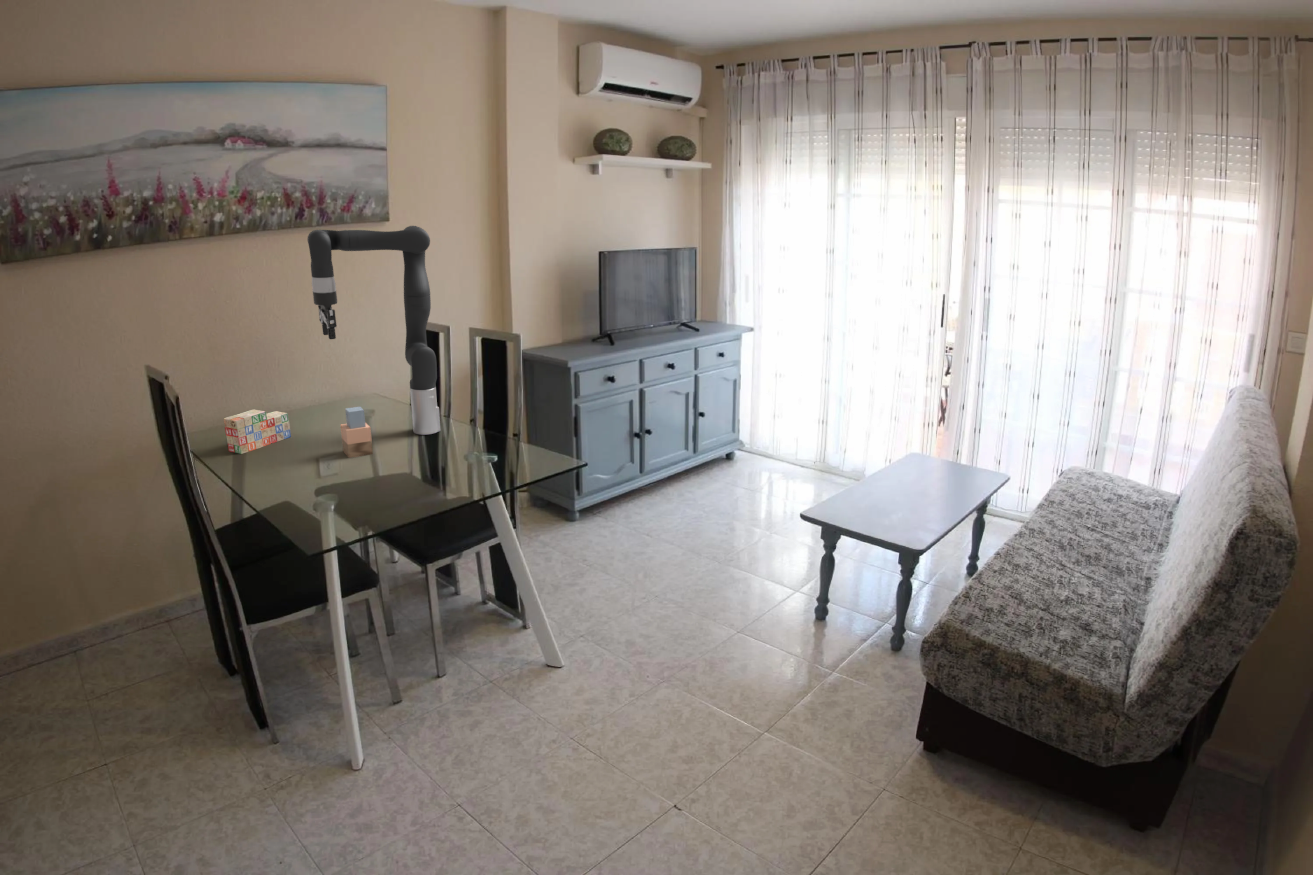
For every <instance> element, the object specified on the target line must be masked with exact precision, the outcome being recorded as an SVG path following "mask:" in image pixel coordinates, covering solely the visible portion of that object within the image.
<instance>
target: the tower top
mask: <svg viewBox="0 0 1313 875" xmlns="http://www.w3.org/2000/svg"><path fill="white" fill-rule="evenodd" d="M365 426H366V427H361V428H354V429H350V428H349V427H348V426H347V423H341V424H340V433H341V440H342V439H343V440H344V441H345V442H346V443H347V444H355V443H361V442H367V441H372V440H373V439H372V430H371V429H372V428H371V426H370V425H369V424H368V423H367V422H366V421H365ZM372 442H373V441H372Z"/></svg>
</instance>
